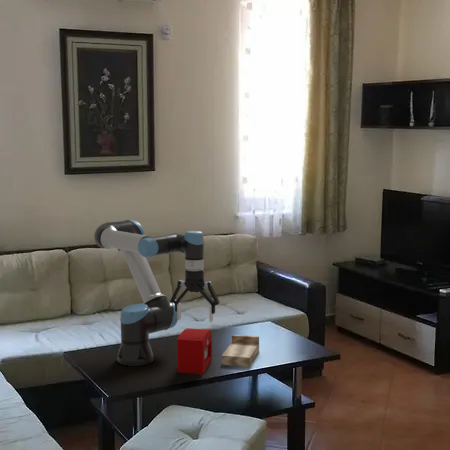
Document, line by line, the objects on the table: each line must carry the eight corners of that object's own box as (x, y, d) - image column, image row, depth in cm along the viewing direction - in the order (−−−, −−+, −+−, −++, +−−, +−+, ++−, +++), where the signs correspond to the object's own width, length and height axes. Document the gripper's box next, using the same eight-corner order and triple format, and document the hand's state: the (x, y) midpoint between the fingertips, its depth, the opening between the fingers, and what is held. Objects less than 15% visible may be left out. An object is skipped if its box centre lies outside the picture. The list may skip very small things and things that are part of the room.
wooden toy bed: (221, 364, 287) (221, 348, 286) (232, 349, 306) (232, 334, 305) (250, 367, 284) (250, 350, 283) (259, 351, 303) (259, 336, 302)
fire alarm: (203, 374, 275) (203, 338, 273) (177, 373, 278) (177, 337, 276) (212, 361, 291) (212, 327, 289) (187, 359, 293) (187, 325, 291)
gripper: (162, 269, 278) (163, 320, 281) (222, 272, 272) (222, 324, 275) (168, 266, 285) (168, 316, 288) (226, 268, 279) (226, 319, 282)
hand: (195, 320), depth 282 cm, fingers open, 13 cm apart
